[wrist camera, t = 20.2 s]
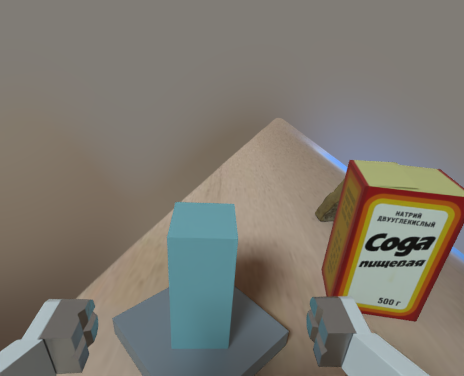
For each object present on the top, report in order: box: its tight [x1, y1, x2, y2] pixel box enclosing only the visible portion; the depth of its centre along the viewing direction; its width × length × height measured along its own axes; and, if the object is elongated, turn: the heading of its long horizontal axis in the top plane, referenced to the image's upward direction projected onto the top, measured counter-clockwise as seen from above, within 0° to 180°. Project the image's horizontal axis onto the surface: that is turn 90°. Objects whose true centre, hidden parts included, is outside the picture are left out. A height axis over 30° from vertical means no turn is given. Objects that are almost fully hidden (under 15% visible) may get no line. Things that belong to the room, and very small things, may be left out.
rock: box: [315, 178, 345, 221], centre depth 52 cm, size 11×9×10 cm
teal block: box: [167, 202, 238, 349], centre depth 26 cm, size 5×5×12 cm
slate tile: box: [112, 286, 289, 376], centre depth 29 cm, size 12×12×2 cm
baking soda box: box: [322, 160, 464, 321], centre depth 33 cm, size 10×6×16 cm
